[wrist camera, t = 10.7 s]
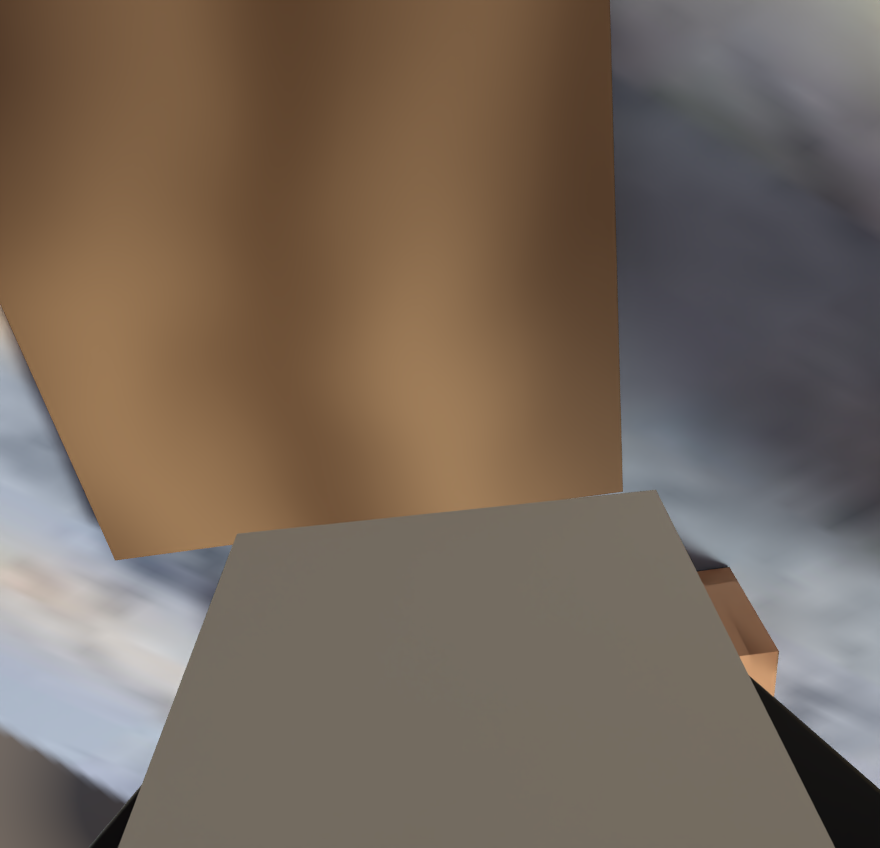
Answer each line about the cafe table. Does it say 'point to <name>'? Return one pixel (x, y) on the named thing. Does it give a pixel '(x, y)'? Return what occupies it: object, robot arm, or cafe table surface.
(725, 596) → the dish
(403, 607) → the stone
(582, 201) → the board
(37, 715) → the cafe table surface
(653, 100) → the cafe table surface
